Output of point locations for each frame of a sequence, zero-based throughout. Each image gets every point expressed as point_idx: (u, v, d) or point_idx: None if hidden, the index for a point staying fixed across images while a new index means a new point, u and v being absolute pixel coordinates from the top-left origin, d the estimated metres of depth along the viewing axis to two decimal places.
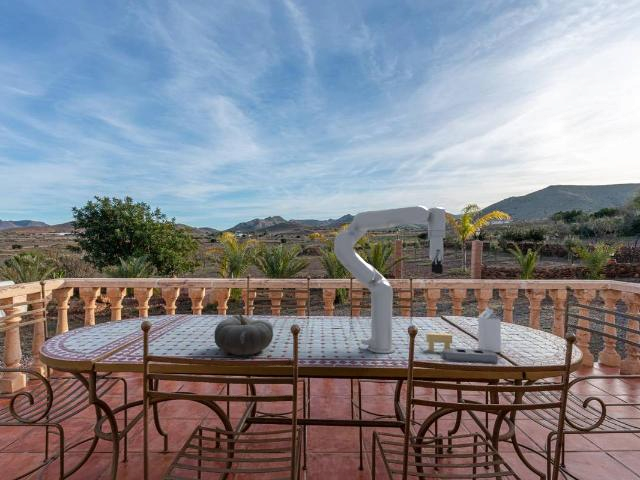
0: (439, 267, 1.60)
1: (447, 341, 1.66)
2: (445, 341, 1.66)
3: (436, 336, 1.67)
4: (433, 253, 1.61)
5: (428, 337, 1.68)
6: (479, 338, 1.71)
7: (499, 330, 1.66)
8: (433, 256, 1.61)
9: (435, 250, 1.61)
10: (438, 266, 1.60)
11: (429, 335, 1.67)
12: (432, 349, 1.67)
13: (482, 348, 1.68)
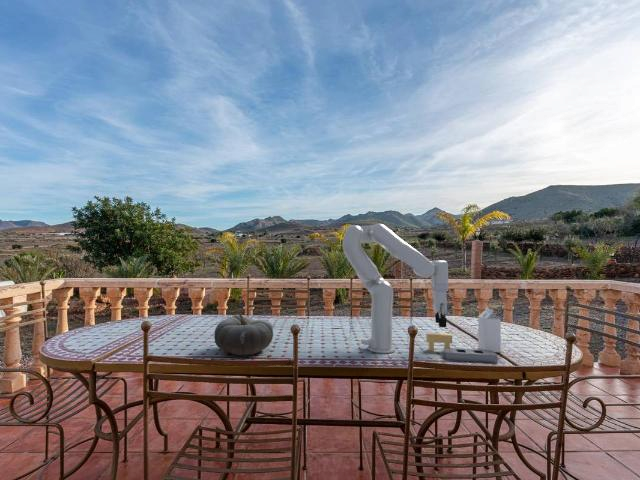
0: (443, 321, 1.63)
1: (447, 341, 1.66)
2: (445, 341, 1.66)
3: (436, 336, 1.67)
4: (437, 307, 1.64)
5: (428, 337, 1.68)
6: (479, 338, 1.71)
7: (499, 330, 1.66)
8: (437, 310, 1.64)
9: (439, 304, 1.64)
10: (442, 320, 1.63)
11: (429, 335, 1.67)
12: (432, 349, 1.67)
13: (482, 348, 1.68)
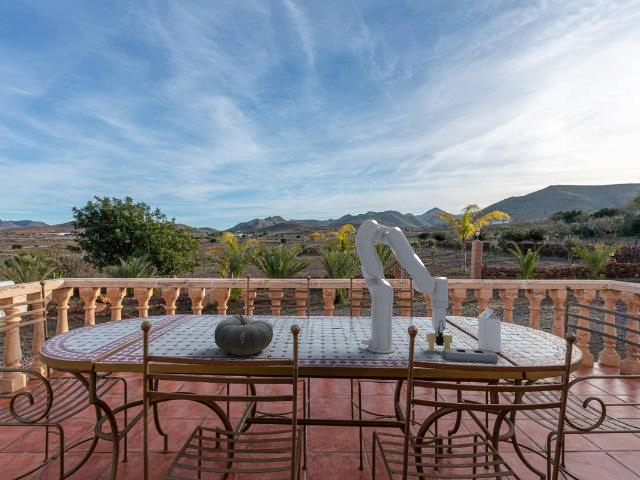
0: (440, 339, 1.65)
1: (447, 341, 1.66)
2: (445, 341, 1.66)
3: None
4: (436, 324, 1.64)
5: (428, 337, 1.68)
6: (479, 338, 1.71)
7: (499, 330, 1.66)
8: (436, 327, 1.64)
9: (438, 321, 1.64)
10: (439, 338, 1.65)
11: (429, 335, 1.67)
12: (432, 349, 1.67)
13: (482, 348, 1.68)
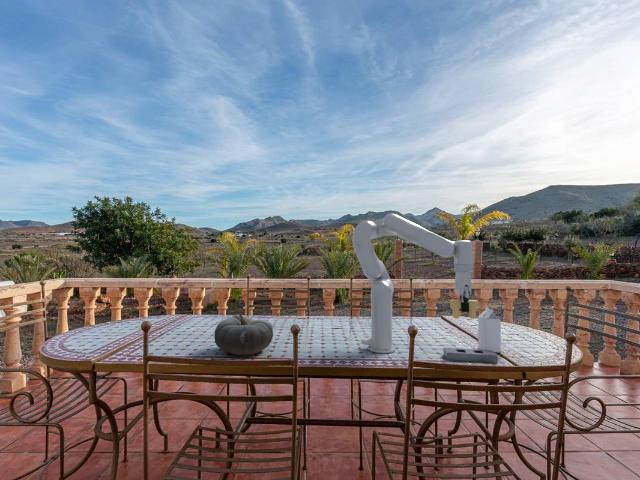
0: (466, 305, 1.56)
1: (473, 307, 1.57)
2: (471, 307, 1.57)
3: None
4: (461, 289, 1.55)
5: (453, 304, 1.59)
6: (479, 338, 1.71)
7: (499, 330, 1.66)
8: (461, 292, 1.55)
9: (463, 285, 1.55)
10: (464, 304, 1.57)
11: (454, 301, 1.58)
12: (457, 316, 1.58)
13: (482, 348, 1.68)
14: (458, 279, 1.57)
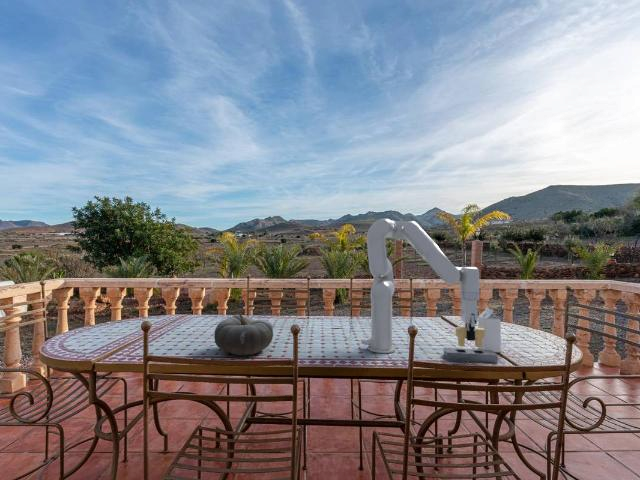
0: (472, 334, 1.54)
1: (479, 336, 1.55)
2: (477, 336, 1.55)
3: (467, 330, 1.55)
4: (467, 317, 1.52)
5: (458, 331, 1.56)
6: None
7: (499, 330, 1.66)
8: (467, 320, 1.52)
9: (469, 314, 1.52)
10: (470, 333, 1.54)
11: (459, 329, 1.56)
12: (463, 344, 1.56)
13: (482, 348, 1.68)
14: (464, 307, 1.55)
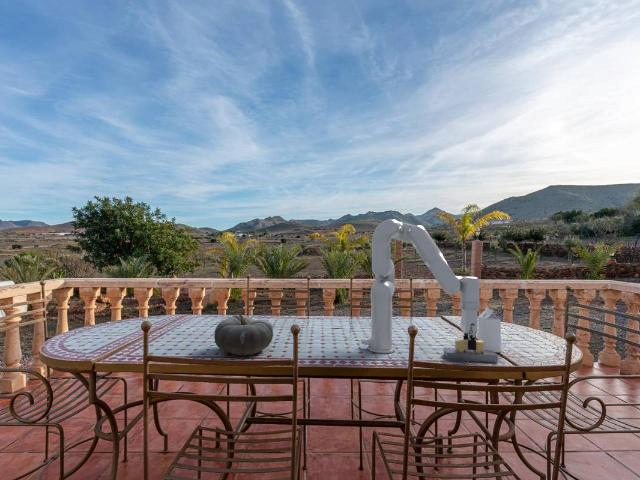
0: (473, 343, 1.52)
1: (478, 348, 1.54)
2: (476, 348, 1.55)
3: (466, 343, 1.55)
4: (467, 327, 1.52)
5: (457, 344, 1.56)
6: (479, 338, 1.71)
7: (499, 330, 1.66)
8: (467, 330, 1.52)
9: (469, 324, 1.52)
10: (471, 342, 1.52)
11: (458, 342, 1.56)
12: None
13: None
14: (464, 316, 1.55)
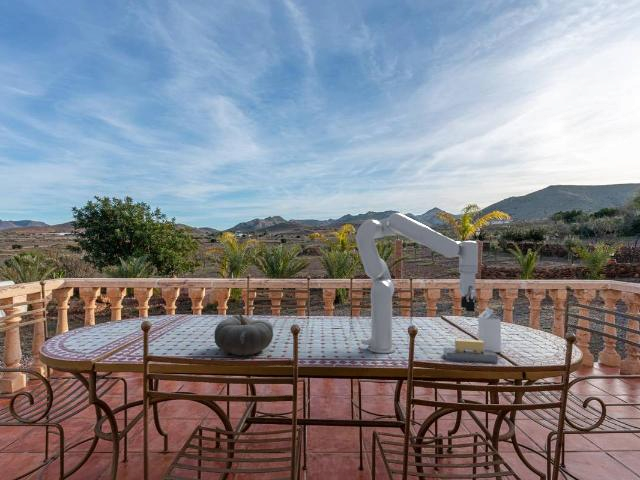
0: (471, 305, 1.52)
1: (478, 348, 1.54)
2: (476, 348, 1.55)
3: (466, 343, 1.55)
4: (465, 290, 1.53)
5: (457, 344, 1.56)
6: (479, 338, 1.71)
7: (499, 330, 1.66)
8: (465, 293, 1.53)
9: (467, 287, 1.53)
10: (470, 304, 1.52)
11: (458, 342, 1.56)
12: None
13: None
14: (462, 280, 1.56)
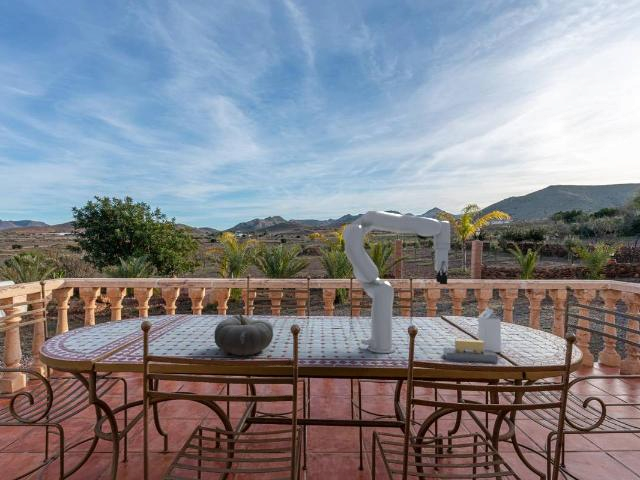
0: (444, 278, 1.69)
1: (478, 348, 1.54)
2: (476, 348, 1.55)
3: (466, 343, 1.55)
4: (438, 264, 1.70)
5: (457, 344, 1.56)
6: (479, 338, 1.71)
7: (499, 330, 1.66)
8: (438, 267, 1.70)
9: (440, 262, 1.70)
10: (443, 277, 1.69)
11: (458, 342, 1.56)
12: None
13: None
14: (436, 256, 1.72)
